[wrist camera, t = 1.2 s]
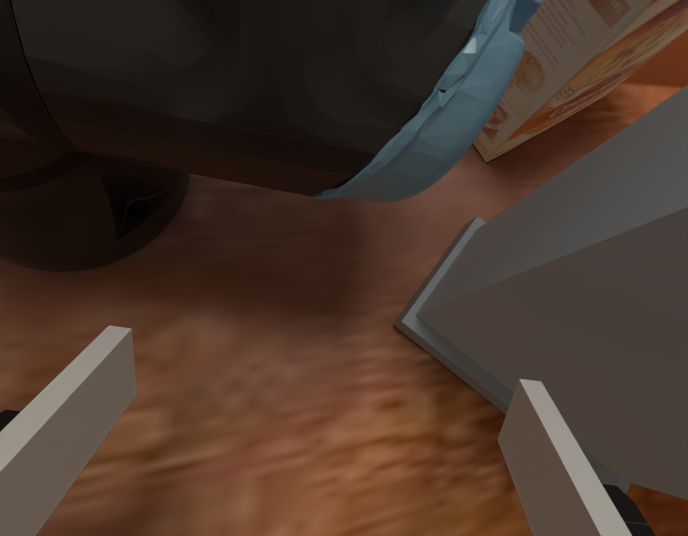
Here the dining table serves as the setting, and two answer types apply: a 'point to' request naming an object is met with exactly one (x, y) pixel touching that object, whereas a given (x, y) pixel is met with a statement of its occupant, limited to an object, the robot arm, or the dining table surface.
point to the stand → (582, 301)
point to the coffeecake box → (576, 62)
